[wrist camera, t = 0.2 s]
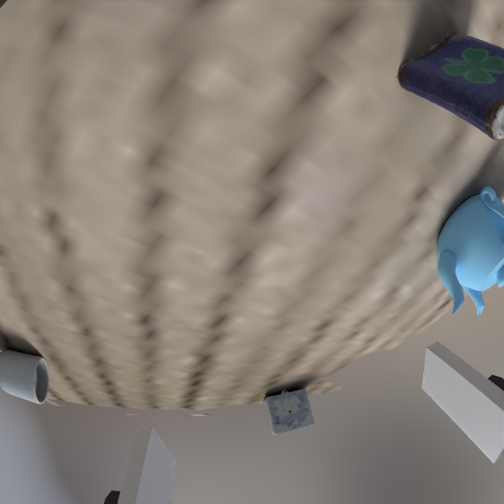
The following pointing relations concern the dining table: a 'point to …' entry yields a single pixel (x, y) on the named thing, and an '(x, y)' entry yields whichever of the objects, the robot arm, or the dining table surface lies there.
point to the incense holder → (289, 411)
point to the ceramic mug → (24, 375)
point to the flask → (461, 80)
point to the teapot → (473, 248)
